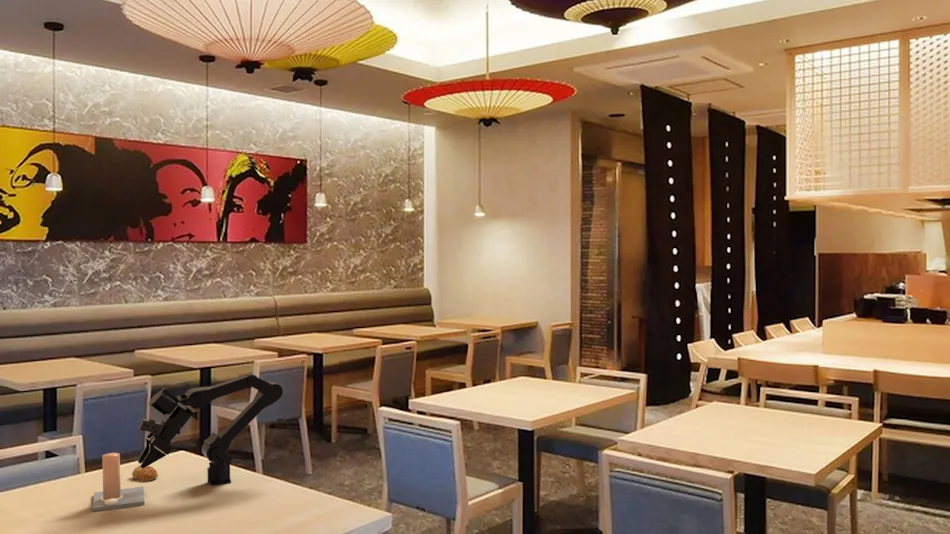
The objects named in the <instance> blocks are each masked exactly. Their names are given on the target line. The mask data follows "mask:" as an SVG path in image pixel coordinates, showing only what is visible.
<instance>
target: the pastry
mask: <svg viewBox="0 0 950 534" xmlns="http://www.w3.org/2000/svg"><path fill="white" fill-rule="evenodd" d="M140 466H141V464H140V465H138V466H137V467H135V468H134V469H133V471H132V473H131V475H132V477H133V479H135V480H136V481H141V480H142V481H141V482H147V481H148V482H149V481H152V480H155V479H157V478H158V476H159V474H158V472H157V469H155V468H154V467H153V466H150V465H148V466H147V467H145V468H141V467H140Z"/></svg>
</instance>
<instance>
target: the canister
mask: <svg viewBox="0 0 950 534" xmlns="http://www.w3.org/2000/svg"><path fill="white" fill-rule="evenodd" d="M101 459H102V460H101V462H102V464H101V465H102V491H103V499H104V500H107V499H112V498H116V499H117V498H120V497H121V491H120V489H121V454H120V453H119V452H109V453H105V454H102V458H101Z"/></svg>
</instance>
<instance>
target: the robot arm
mask: <svg viewBox="0 0 950 534" xmlns="http://www.w3.org/2000/svg"><path fill="white" fill-rule="evenodd" d="M247 388H253V389H255V390H257V392H256V394H255V395H254V397H253V400H252V401H251V402H250V403H249V404H248V405H247V406H246V407H245V408H244V409H243V410H242V411H241V412H240V413H239V414H238V415H237V416H236V417H235V418H234V419H233V420H232V421H231V422H230V423H228V425H227V426H226V427H225V428H224V429H223V430H222V431H221V432H219V433H215V432H214V431H213V432H212V433H210V435H209V436H208V438H206V439H204V440H203V442H204V443H203V445H201V453H202V454H203V456H204V457H205V458H206V459H207V460H208V461H209V463H208V467H207V469H206V472H207V474H206V475H207V477H206V478H207V480H206V481H207V482H208V483H209V485H211V486H213V485H220V484H221V483H222V484H229V482H230V483H232V479H231V463H232V460H233V457H231V456H230V455H228V454H227V453H228V450H229V449H230V446H231V444H232V443H233V441H234V440H235V439H236V438H237V437H238V436H239V434H241V433H242V431H243V430H245V428H246V427H247V426H249V424H250V423H251V422H252V421H253V420H254V419H255V418H256V417H257V416H258V415H259V414H260V413H261V412H262V411H263V410H264V409H266V408H268V407H270V406H271V405H273V404H275V403H276V402H277V401H278V400H280V399H281V398H282V397H283V393H284V392H283V391H284V390H283V387H282V385H280V384H278V383H276V382H274V381H265V380H263V379H262V378H260V377H258V376H257V375H255V374H253V373H246V374H244V375H242V376H239V377H236V378H233V379H230V380H226V381H224V382H221V383H217V384H214V385H212V386H211V385H209V386H201V387H194V388H189V389H188V390H186V391H185V393H182V394H179V395H174V394H172V393H171V392H170V391H169V390H168V389H166V388H165V387H163V388H162V389H161V390H160V391H158V392H157V393H156V394H154V395H153V396H152V397H151V399H150V401H149V402H148V406H149V407H150V408H153V410H155V411H156V412H158V413H159V414H161V415H162V416H166V415H168V417H167V418H166V419H165V420H161V422H157V421H156V420H155V419H152V418H149V419H145V418H142V419H141V421H140V424H139V426H138V430H140V431H142V432H148V433H147V434H146V435H145V447H144V449H143V451H142V453H141V454H140V457H139V458H138V461H137V463H139V464H140V465H141V466H140V465H139V466H140V467H141V468H145V467H147V466H150V465H151V464H153V463H155V462H157V461H159V460H161V459H163V458H165V457H166V456H169V454H170V453H171V452H172V451H173V447H172V442H173V440H175V438H176V437H177V436H178V435H180V433H182V432H181V431H182V430H183V428H184V427H185V425H186V424H187V423H188V422H189V421H190V420H191V419H192V418H193V419H194V420H195V421H198V420H199V415H198V414H199V413H198V411H197V410H198V409H202V408H203V407H205V406H207V405H210V403H212V402H213V401H215V400H216V399H218V398H221V397H224V396H227V395H231V394H233V393H236V392H239V391H242V390H246V389H247ZM178 403H179V404H180V405H179V404H178ZM181 405H182V406H183V407H182V406H181ZM188 406H189V407H190V408H192V409H194V410H192V409H190V408H189V407H188Z"/></svg>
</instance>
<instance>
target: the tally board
mask: <svg viewBox="0 0 950 534" xmlns="http://www.w3.org/2000/svg"><path fill="white" fill-rule="evenodd" d="M120 491H121V497H120V498H117V499H116V498H112V499H107V500H104V499H103V490H101V491H97V492H93V499H92V500H93V501H92V508H91V509H92V510H91V511H92V512H99V511H107V510H108V511H109V510H115V509H122V508H129V507H130V508H131V507H137V506H138V507H139V506H145V489H144V486H134V487H129V488H127V487H126V488H120Z"/></svg>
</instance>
